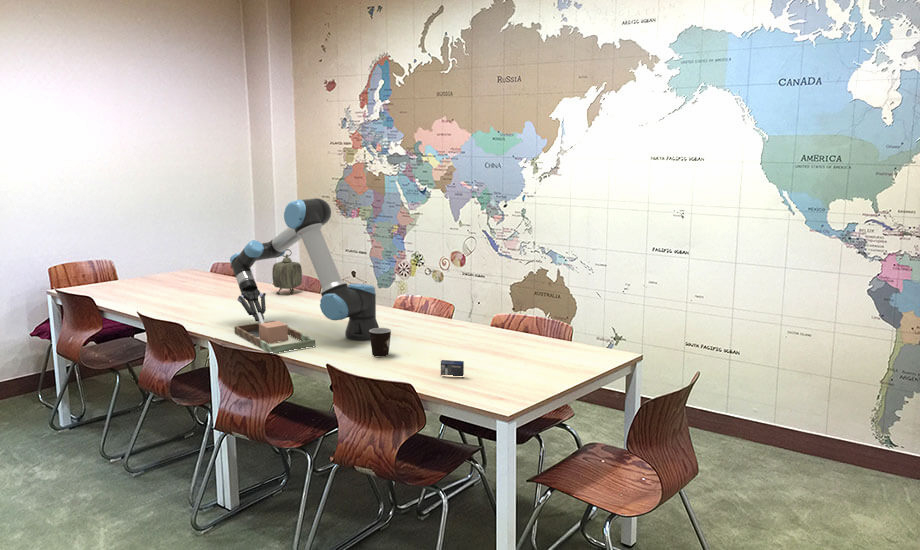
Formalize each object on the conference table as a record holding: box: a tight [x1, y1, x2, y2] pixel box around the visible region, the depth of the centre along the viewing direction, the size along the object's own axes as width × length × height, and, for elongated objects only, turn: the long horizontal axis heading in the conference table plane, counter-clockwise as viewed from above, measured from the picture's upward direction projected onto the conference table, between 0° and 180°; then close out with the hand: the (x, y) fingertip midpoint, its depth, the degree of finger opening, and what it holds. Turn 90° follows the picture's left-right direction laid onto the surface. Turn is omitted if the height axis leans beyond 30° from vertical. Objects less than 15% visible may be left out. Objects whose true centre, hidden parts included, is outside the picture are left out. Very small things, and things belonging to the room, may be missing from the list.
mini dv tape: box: [440, 359, 465, 376], centre depth 277 cm, size 8×2×6 cm, turn 80°
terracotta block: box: [258, 320, 289, 344], centre depth 328 cm, size 9×9×7 cm
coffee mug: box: [369, 327, 392, 357], centre depth 304 cm, size 12×9×10 cm
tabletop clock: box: [271, 248, 303, 296], centre depth 424 cm, size 14×9×25 cm, turn 144°
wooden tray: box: [234, 320, 316, 354], centre depth 328 cm, size 42×19×3 cm, turn 36°
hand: (262, 326), depth 337 cm, fingers closed
